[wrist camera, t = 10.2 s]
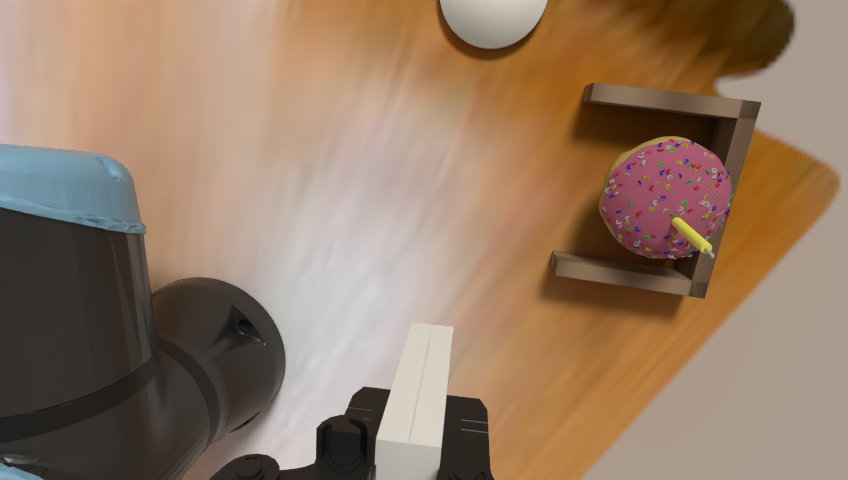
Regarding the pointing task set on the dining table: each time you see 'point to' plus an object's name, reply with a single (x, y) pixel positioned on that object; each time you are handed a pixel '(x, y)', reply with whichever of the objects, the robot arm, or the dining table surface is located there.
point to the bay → (725, 144)
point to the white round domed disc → (492, 20)
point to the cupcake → (666, 198)
